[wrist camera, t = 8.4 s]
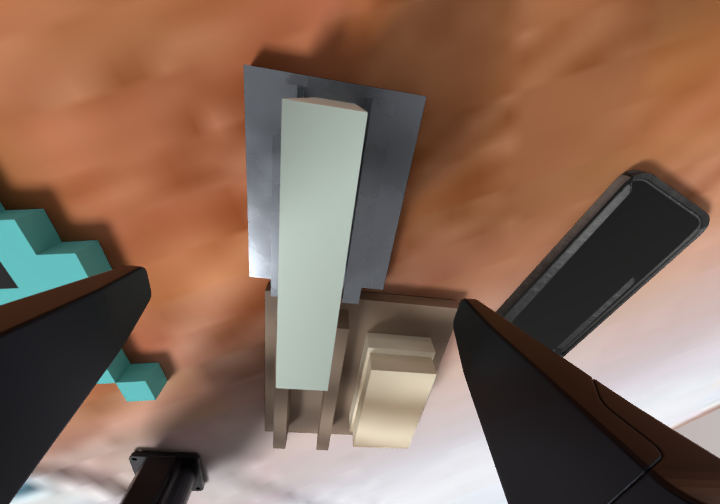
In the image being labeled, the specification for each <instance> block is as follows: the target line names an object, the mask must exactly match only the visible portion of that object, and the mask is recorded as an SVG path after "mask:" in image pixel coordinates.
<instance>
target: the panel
mask: <svg viewBox="0 0 720 504" xmlns="http://www.w3.org/2000/svg"><path fill="white" fill-rule="evenodd" d="M367 114H368V112H366V111H365V110H364V109H362V108H361V107H359V106H358V105H356V104H354V103H347V102H341V101H335V100H329V99H323V98H317V97H311V98H285V99H282V119H281V166H280V212H279V259H278V306H277V352H276V388H283V389H301V390H319V391H328V385H329V378H330V371H331V364H332V357H333V350H334V343H335V336H336V329H337V322H338V315H339V309H340V302H341V295H342V288H343V281H344V274H345V267H346V260H347V253H348V246H349V239H350V232H351V225H352V218H353V211H354V205H355V198H356V191H357V184H358V177H359V170H360V163H361V156H362V149H363V142H364V135H365V128H366V121H367Z"/></svg>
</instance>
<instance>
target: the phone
mask: <svg viewBox="0 0 720 504" xmlns="http://www.w3.org/2000/svg"><path fill="white" fill-rule="evenodd" d="M709 221H710V218H709V215H708V214H707V213H706V212H705V211H704V210H702V209H701V208H699V207H698V206H697V205H695V204H694V203H692V202H691V201H690V200H688V199H687V198H685V197H684V196H682V195H681V194H680V193H678V192H677V191H675V190H674V189H673V188H671V187H670V186H668V185H667V184H666V183H664V182H663V181H661V180H660V179H659V178H657V177H656V176H654V175H653V174H650V173H647V172H643V171H639V170H631V171H628V172H625V173H624V174H622V175H620V176H619V177H618V178H617V179H616V180H615V181H614V182H613V183H612V184H611V185H610V186H609V187H608V188H607V190H606V191H605V192H604V193H603V194H602V195H601V196H600V197H599V198H598V199H597V201H596V202H595V203H594V204H593V205H592V206H591V207H590V208H589V209H588V211H587V212H586V213H585V214H584V215H583V216H582V217H581V218H580V219H579V220H578V222H577V223H576V224H575V225H574V226H573V227H572V228H571V229H570V230H569V232H568V233H567V234H566V235H565V236H564V237H563V238H562V239H561V240H560V242H559V243H558V244H557V245H556V246H555V247H554V248H553V249H552V250H551V251H550V253H549V254H548V255H547V256H546V257H545V258H544V259H543V260H542V261H541V263H540V264H539V265H538V266H537V267H536V268H535V269H534V270H533V271H532V273H531V274H530V275H529V276H528V277H527V278H526V279H525V280H524V281H523V282H522V284H521V285H520V286H519V287H518V288H517V289H516V290H515V291H514V292H513V294H512V295H511V296H510V297H509V298H508V299H507V300H506V301H505V302H504V304H503V305H502V306H501V307H500V308H499V309H498V310H497V311H496V313H497V314H499V315H500V316H502V317H503V318H505V319H506V320H508V321H509V322H510V323H512V324H513V325H515V326H516V327H518V328H519V329H521V330H522V331H524V332H525V333H527V334H528V335H530V336H531V337H533V338H534V339H536V340H537V341H539V342H540V343H542V344H543V345H545V346H546V347H548V348H549V349H551V350H552V351H554V352H555V353H557V354H558V355H560V356H561V357H562V358H563V357H564V356H565V355H566V354H567V353H568V352H569V351H570V350H572V349H573V348H574V347H575V346H576V345H577V344H578V343H579V342H581V341H582V340H583V339H584V338H585V337H586V336H587V335H588V334H590V333H591V332H592V331H593V330H594V329H595V328H596V327H597V326H599V325H600V324H601V323H602V322H603V321H604V320H605V319H606V318H608V317H609V316H610V315H611V314H612V313H613V312H614V311H615V310H617V309H618V308H619V307H620V306H621V305H622V304H623V303H624V302H626V301H627V300H628V299H629V298H630V297H631V296H632V295H633V294H635V293H636V292H637V291H638V290H639V289H640V288H641V287H642V286H644V285H645V284H646V283H647V282H648V281H649V280H650V279H651V278H653V277H654V276H655V275H656V274H657V273H658V272H659V271H661V270H662V269H663V268H664V267H665V266H666V265H667V264H668V263H670V262H671V261H672V260H673V259H674V258H675V257H676V256H677V255H679V254H680V253H681V252H682V251H683V250H684V249H685V248H686V247H688V246H689V245H690V244H691V243H692V242H693V241H694V240H695V239H697V238H698V237H699V236H700V235H701V234H702V233H703V232H704V231H705V230H706V228H707V226H708V225H709Z"/></svg>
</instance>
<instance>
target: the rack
mask: <svg viewBox="0 0 720 504" xmlns="http://www.w3.org/2000/svg"><path fill="white" fill-rule="evenodd" d="M277 306H278V297H275V296H271V283H270V282H268V285H267V287H266V290H265V431H274V435H273V448H281V449H285V446H286V440H287V434H288V432H298V433H318V437H317V450H328V447H329V441H330V436H331V434H346V435H353V432H350V426H349V414H350V409H351V405H352V400H353V395H354V391H355V386H356V381H357V376H358V372H359V367H360V362H361V357H362V353H363V348H364V343H365V338H366V334H367V333H379V334H391V335H404V336H416V337H428V338H431V341H432V343H433V346H434V349H435V352H436V353H435V356H434V359H433V364H434V367H435V370H436V371H437V369H438V366H439V364H440V361H441V358H442V356H443V353H444V351H445V348H446V345H447V343H448V340H449V338H450V335H451V333H452V330H453V320H454V317H455V314H456V312H457V309H458V306H459V305H458V303H457V301H456V300H446V299H436V298H426V297H415V296H405V295H394V294H384V293H374V292H363V291H361V293H360V299H359V304H352V303H342V295H341V302H340V309H339V315H338V322H337V329H336V336H335V343H334V350H333V357H332V364H331V371H330V378H329V385H328V391H319V390H301V389H283V388H276V352H277Z"/></svg>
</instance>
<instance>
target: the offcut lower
mask: <svg viewBox="0 0 720 504" xmlns="http://www.w3.org/2000/svg"><path fill="white" fill-rule="evenodd" d="M370 353H379V354H393V355H407V356H420V357H431V358H432V361H433V359H434V356H435V353H436V352H435V349H434V346H433V343H432V341H431V338H428V337H416V336H404V335H391V334H379V333H367V334H366V338H365V343H364V348H363V353H362V357H361V362H360V367H359V372H358V376H357V381H356V386H355V391H354V395H353V400H352V405H351V409H350V414H349V426H350V432H353V424H354V420H355V416H356V411H357V407H358V402H359V398H360V394H361V389H362V385H363V380H364V376H365V372H366V367H367V363H368V358H369V354H370Z"/></svg>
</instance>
